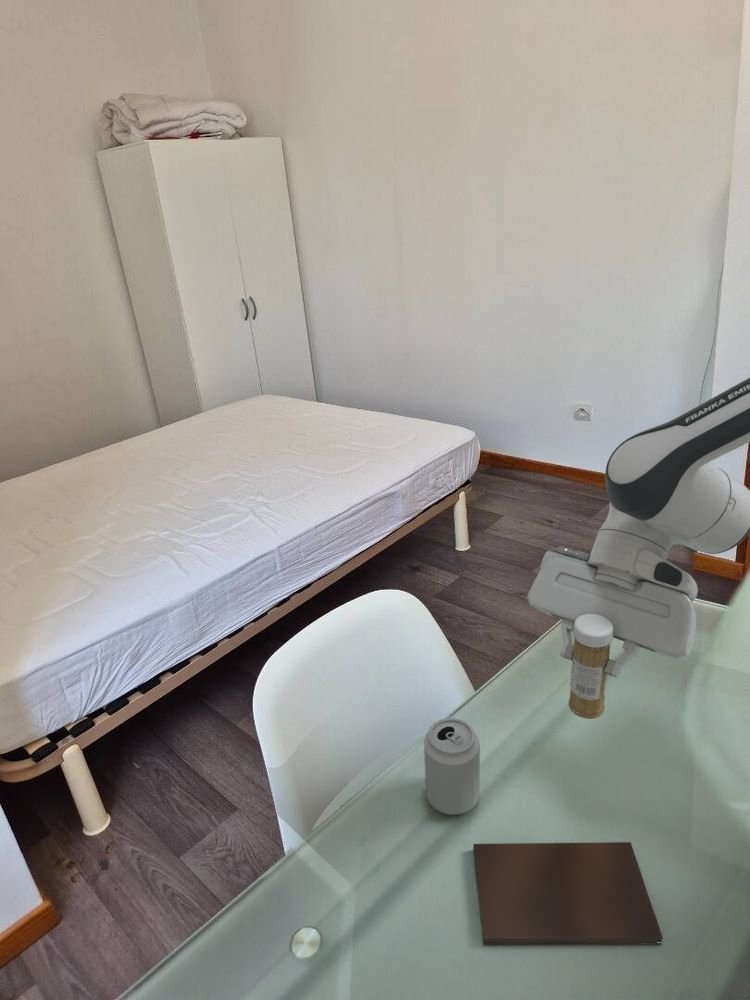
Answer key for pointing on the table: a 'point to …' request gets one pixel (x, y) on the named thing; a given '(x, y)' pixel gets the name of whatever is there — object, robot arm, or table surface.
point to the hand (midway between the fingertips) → (588, 667)
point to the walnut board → (563, 894)
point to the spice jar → (590, 665)
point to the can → (452, 766)
